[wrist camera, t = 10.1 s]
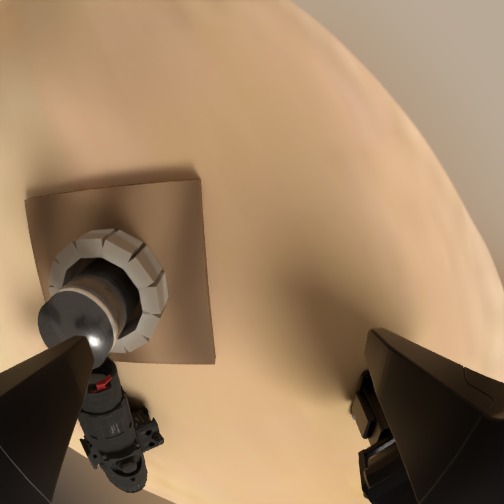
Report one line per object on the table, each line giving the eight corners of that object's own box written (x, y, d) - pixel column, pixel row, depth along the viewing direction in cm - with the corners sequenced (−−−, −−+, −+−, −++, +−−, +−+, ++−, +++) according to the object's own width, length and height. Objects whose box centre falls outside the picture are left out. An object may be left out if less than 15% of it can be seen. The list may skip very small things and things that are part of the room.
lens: (138, 253, 20) (96, 300, 14) (147, 313, 22) (117, 374, 15) (80, 255, 20) (27, 296, 14) (93, 312, 22) (52, 365, 15)
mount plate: (200, 178, 20) (192, 184, 17) (215, 356, 24) (212, 384, 21) (31, 197, 20) (5, 206, 16) (68, 350, 24) (52, 372, 21)
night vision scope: (145, 442, 31) (75, 466, 25) (120, 321, 26) (20, 345, 20) (179, 486, 26) (101, 517, 19) (157, 368, 21) (31, 405, 14)
